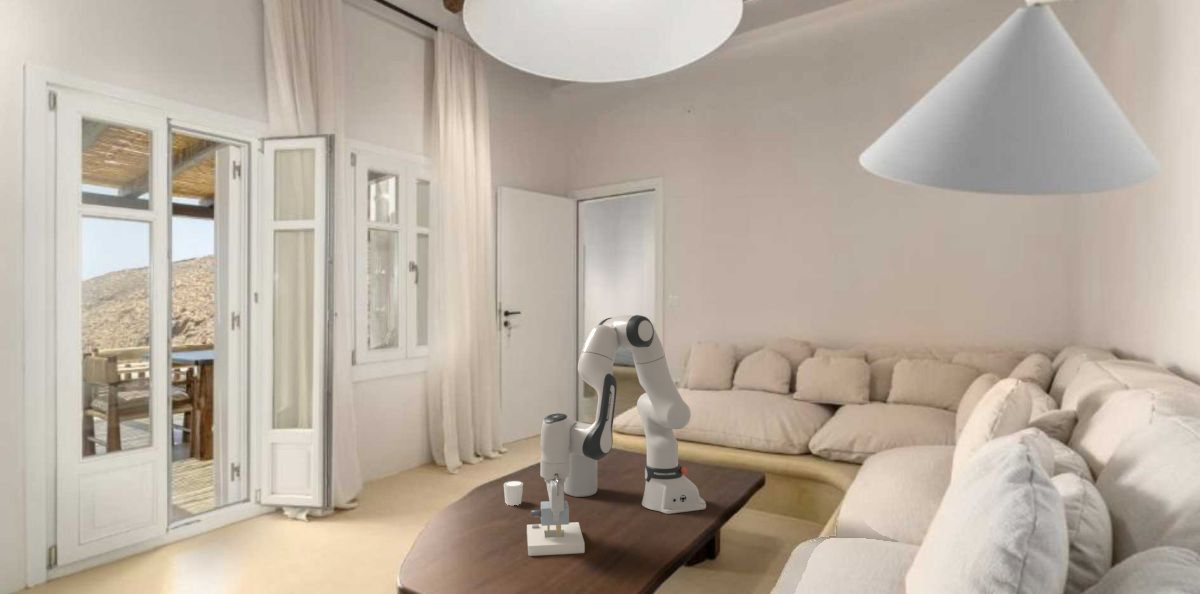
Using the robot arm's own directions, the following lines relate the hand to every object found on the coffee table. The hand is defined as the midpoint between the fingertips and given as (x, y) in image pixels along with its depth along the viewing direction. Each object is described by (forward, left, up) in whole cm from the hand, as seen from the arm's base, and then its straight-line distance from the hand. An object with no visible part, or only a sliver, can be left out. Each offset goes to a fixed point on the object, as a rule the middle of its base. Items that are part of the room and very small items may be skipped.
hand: (554, 515), depth 180 cm
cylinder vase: (-13, -45, -8) cm, 47 cm away
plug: (+2, 0, -5) cm, 5 cm away
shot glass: (+12, -36, -8) cm, 39 cm away
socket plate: (0, 0, -8) cm, 8 cm away
